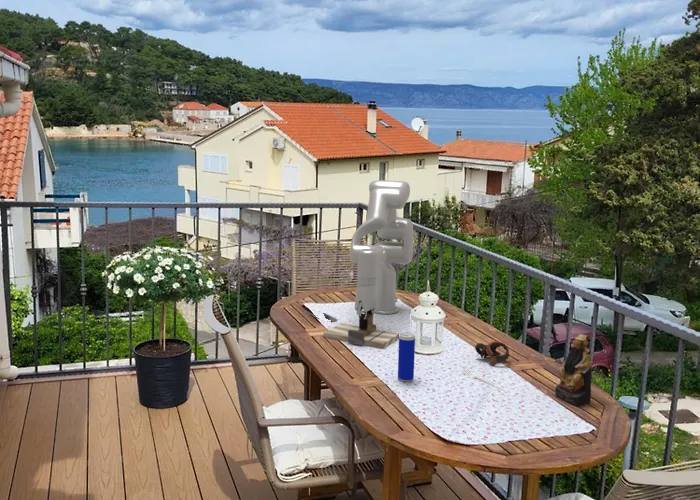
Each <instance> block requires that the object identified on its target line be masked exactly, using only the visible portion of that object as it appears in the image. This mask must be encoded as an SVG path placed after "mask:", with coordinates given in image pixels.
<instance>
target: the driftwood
mask: <svg viewBox="0 0 700 500" xmlns="http://www.w3.org/2000/svg"><path fill="white" fill-rule="evenodd" d="M302 311H303V312H304V313H305V314H308V315H310V316H312V317H314V318H315V319H317V318H316V317H315V316H316V315H315V314H314V313H312V312H310V311H307V310H306V309H303V310H302ZM323 314H324V316H325V318H326V319H328V320H331V321H332V322H335V321H336V320H338V319H337V318H336V317H333V316H331V315H329V314H327V313H326V312H323ZM314 315H315V316H314Z"/></svg>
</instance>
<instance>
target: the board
mask: <svg viewBox="0 0 700 500" xmlns="http://www.w3.org/2000/svg"><path fill="white" fill-rule="evenodd" d="M350 329H351V330H359V325H353V324H352V325H351V324H347V323H339V324H337V325H335V326H333V327H332V328H329V329H327V330H326V331H323V335H322V337H323V338H325V339H331V340H337V341H341V342H346V343H348V330H350ZM399 336H400V333H397V332H391V331H386V330H380V329H376V330H375V331H373V332H371V333H370V334H368V335H366V336H365V337H364V344H363V345H362V346H366V347H368V346H369V347H372V348H377V349H385V348H387V347H388V346H390V345H391V344H393V343H395V342H396V341H397V339H398V340H399ZM394 341H395V342H394Z"/></svg>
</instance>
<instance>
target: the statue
mask: <svg viewBox="0 0 700 500" xmlns="http://www.w3.org/2000/svg"><path fill="white" fill-rule="evenodd" d="M589 339H590V338H589V336H588V335H585V334H581V333H579V334H578V335H577V336H575V338H574V341H573V343H571V344H570V347H571V348H570V350H569V353H568V355H567V357H566V358H565V360H564V361H562V362H561V363H560V367H559V368H558V373H559V377H560V378H559V381H560V382H559V384H557V385H556V386H555V392H554V393H555V397H557V398H559V399H560V400H562V401H564V402H565V403H568V404H570V405H572V406H575V407H581V406H586V405H585V404H588V405H590V404H589V403H591V400H592V375H593V373H592V372H593V365H592V358H591V352H592V351H591V350H590V349H589V346H590V342H589Z"/></svg>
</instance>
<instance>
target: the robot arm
mask: <svg viewBox="0 0 700 500" xmlns="http://www.w3.org/2000/svg"><path fill="white" fill-rule="evenodd" d="M368 191H369V200H368V205H367V212H366V219H365V221H364V222H362V224H360V225H359V226H358V228H357V229H356V230H355V231H354V233H353V235H352V237H351V242H350V248H349V260H350V261H351V262H352V263H354V264H356V265H357V271H356V274H357V278H356V282H357V283H356V285H357V286H356V289H355V290H356V291H355V299H354V310H355V311H356V315H357V316H358V319H359V320H358V321H359V322H358V324H359V325H358V326H359V328H360V329H367V319H366V317H367V314H369V315H373V316H374V315H375V314H380V315H390V314H396V313H398V312H399V307H398V306H396V303H398V299H397V298H396V293H397V292H396V289H397V272H396V269H395V267H393V264H398V265H400V264H402V265H409V264H410V263H412V261H413V255H414V224H413V222H412V220H411V219H409V218H405V217H397V210H402V209H403V208H404V207H405V206H406V203H407V201H408V200H409V198H410V193H411V186H410V184H409V183H408V182H407V181H403V180H384V179H383V180H381V179H380V180H378V179H377V180H373V181H371V182H370V183H369V186H368ZM374 232H376V234H377V236H378V238H381V239H385V240H386V241H385V240H384V241H382V240H381V241H378V242H376V243H375V244H374V245H371V244H360V242H361V241H362V239H363V238H364V237H366V236H368V235H370V234H372V233H374ZM388 240H397V241H388ZM398 240H399V241H398Z"/></svg>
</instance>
